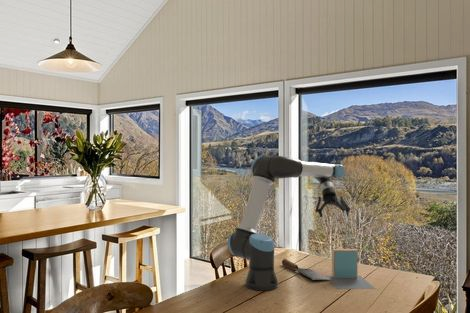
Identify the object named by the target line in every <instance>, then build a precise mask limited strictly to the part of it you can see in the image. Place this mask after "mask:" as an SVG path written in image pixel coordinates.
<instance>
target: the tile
mask: <svg viewBox="0 0 470 313" xmlns="http://www.w3.org/2000/svg"><path fill="white" fill-rule="evenodd" d="M358 254H359V253H358V249H357V248H331V276H332V277H333V278H357V276H358Z"/></svg>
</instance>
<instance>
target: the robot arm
mask: <svg viewBox="0 0 470 313" xmlns="http://www.w3.org/2000/svg"><path fill="white" fill-rule="evenodd" d="M250 169H251V170H250V171H251V174H252V180H253V182H252V187H251V190H250V193H249V197H248V200H247V203H246V206H245V209H244V213H243V215H242V219H241V222H240V224H239V225H238V226H237V227H236V228H235V231H233V232H232V233H231V234H230V235H229V236H228V238H227V249H228V250H229V252H230V253H231V254H232V256H235V257H236V258H241V259H245V260H247V261H249V267H248V268H249V269H248V273H247V274H246V278H245V287H246V288H247V289H250V290H253V291H260V292H261V291H262V292H263V291H271V290H275V289H276V288H278V285H279V284H278V279H277V276H276V272H275V240H274V238H273V237H271V236H270V235H267V234H265V233H264V234H263V233H258V228H259V224H260V220H261V217H262V213H263V210H264V207H265V203H266V200H267V196H268V193H269V190H270V187H271V186H272V185H274V183H275V180H276V179H290V178H299V177H313V178H315V179H316V181H318V182H319V185H320V190H321V195H322V197H321V196H318V198H317V204H316V207H315V213H318V216H319V218H321V222H322V224H325V221H326V218H325V214H324V211H323V210H324V209H325V208H326V207H327V205H329V206H335V207H337V208H338V209H339V210H340V211H342V212H343V217H344V220H345V224H348V222H349V213H350V211H351V207H350V206H349V205H348V204H347V203H346V201H345V200H344V199H343V196H340V197H337V194H336V189H335V186H334V183H333V179H342V178H343V177H344V176H345V174H346V169H345V166H344V165H342V164H333V163H323V162H322V163H321V162H317V161H315V160H313V161H312V160H311V161H303V160H302V161H301V160H300V159H297V158H293V157H286V156H282V155H261V156H257V157H255V158H254V160H252V163H251V166H250ZM321 202H323V203H322V205H321V206H320V204H321Z"/></svg>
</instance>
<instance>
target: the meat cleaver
mask: <svg viewBox="0 0 470 313" xmlns="http://www.w3.org/2000/svg"><path fill="white" fill-rule="evenodd" d="M281 264H282V266H285V267H286V268H287V269H289V270H291V271H293V272H298V273H300V274H302V275H304V276H305V277H307V278H309V279H310V280H312V281H329V280H331V279H329V278H327V277H326V275H323V274H321V273H319V272H317V271H315V270H313V269H310V268H308V269H307V268H301V267H299V265H298V264H295V263H294V262H291V261H290V260H288V259H287V258H284V259H282V260H281Z"/></svg>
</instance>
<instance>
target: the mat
mask: <svg viewBox="0 0 470 313" xmlns="http://www.w3.org/2000/svg"><path fill="white" fill-rule="evenodd" d="M325 277H327V278H329V279H331V280H328V281H329V282H330V283H331V285H333V287H334V288H335V289H336V290H376V288H375V287H374V286H373V285H372V284H371V283H370V282H368V281H367V280H366V279H365V278H364V277H363V276H361V275H357V278H333V277H332V275H325Z"/></svg>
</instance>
